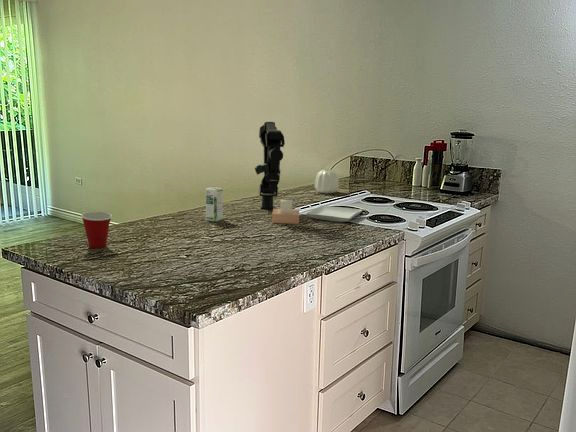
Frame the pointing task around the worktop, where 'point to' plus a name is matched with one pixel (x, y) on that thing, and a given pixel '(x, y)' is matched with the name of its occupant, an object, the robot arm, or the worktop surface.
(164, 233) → the worktop surface
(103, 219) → the plastic cup
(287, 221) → the stand
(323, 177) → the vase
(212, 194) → the syrup box
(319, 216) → the salad plate
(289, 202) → the block
